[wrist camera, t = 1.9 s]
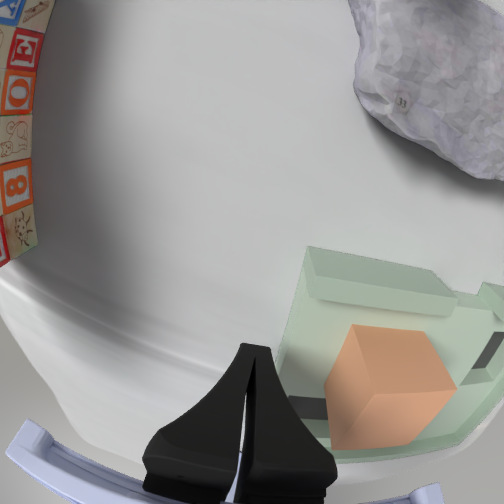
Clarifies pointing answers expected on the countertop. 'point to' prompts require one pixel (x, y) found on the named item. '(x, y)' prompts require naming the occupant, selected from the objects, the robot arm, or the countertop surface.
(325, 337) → the board
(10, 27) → the stack of blocks
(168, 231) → the countertop surface
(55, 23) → the countertop surface
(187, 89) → the countertop surface
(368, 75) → the stone block
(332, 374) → the block
